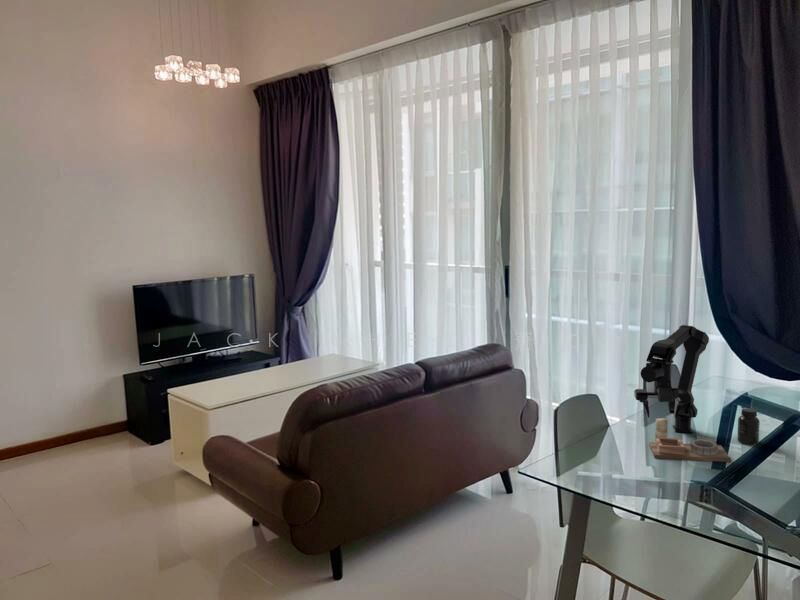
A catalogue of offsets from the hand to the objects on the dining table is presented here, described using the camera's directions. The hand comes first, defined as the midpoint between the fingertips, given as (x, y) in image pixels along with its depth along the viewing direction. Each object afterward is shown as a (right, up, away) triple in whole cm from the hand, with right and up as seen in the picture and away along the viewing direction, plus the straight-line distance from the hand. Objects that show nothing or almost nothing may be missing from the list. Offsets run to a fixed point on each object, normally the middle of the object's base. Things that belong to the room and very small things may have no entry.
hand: (661, 417), depth 227 cm
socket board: (+5, -10, -11) cm, 16 cm away
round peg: (0, -9, +1) cm, 9 cm away
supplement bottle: (+30, -8, -3) cm, 31 cm away
